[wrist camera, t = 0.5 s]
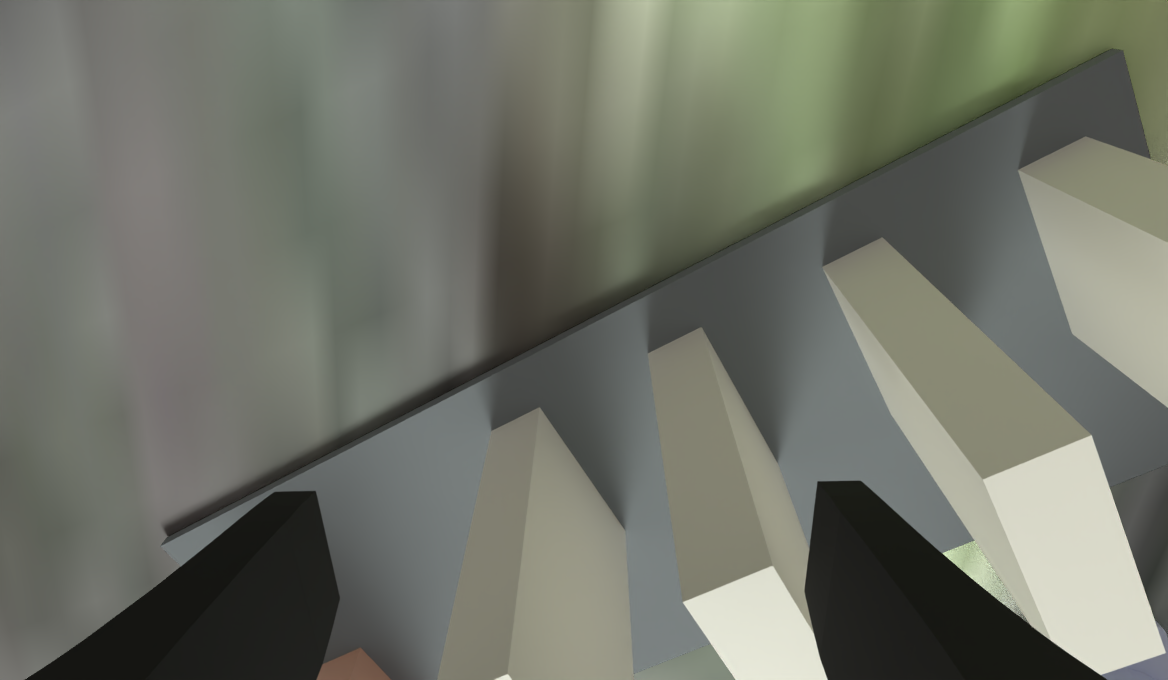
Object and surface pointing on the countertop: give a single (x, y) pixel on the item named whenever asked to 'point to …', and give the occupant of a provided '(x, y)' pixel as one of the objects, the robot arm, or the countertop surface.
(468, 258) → the countertop surface
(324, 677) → the terracotta domino
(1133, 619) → the cream domino
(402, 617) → the mat
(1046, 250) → the cream domino
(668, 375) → the cream domino
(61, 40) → the countertop surface
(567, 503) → the cream domino
